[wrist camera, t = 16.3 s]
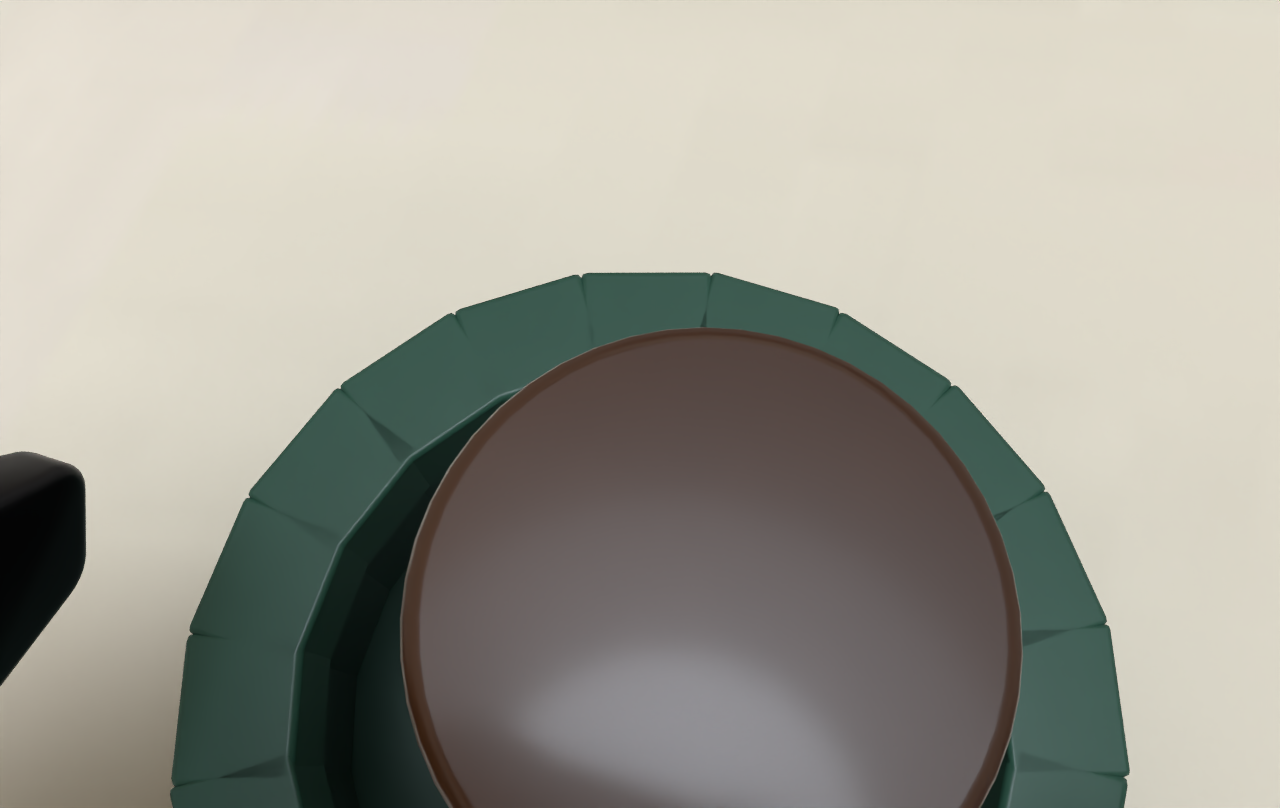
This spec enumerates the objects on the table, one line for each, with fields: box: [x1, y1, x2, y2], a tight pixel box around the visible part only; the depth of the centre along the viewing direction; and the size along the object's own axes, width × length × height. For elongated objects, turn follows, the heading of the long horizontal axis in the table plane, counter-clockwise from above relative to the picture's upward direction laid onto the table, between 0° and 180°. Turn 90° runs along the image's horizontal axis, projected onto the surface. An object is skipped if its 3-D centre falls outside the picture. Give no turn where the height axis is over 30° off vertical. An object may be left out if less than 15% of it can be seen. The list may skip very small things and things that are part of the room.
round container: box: [170, 273, 1130, 808], centre depth 14 cm, size 9×9×6 cm
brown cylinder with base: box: [400, 327, 1023, 808], centre depth 10 cm, size 4×4×13 cm
